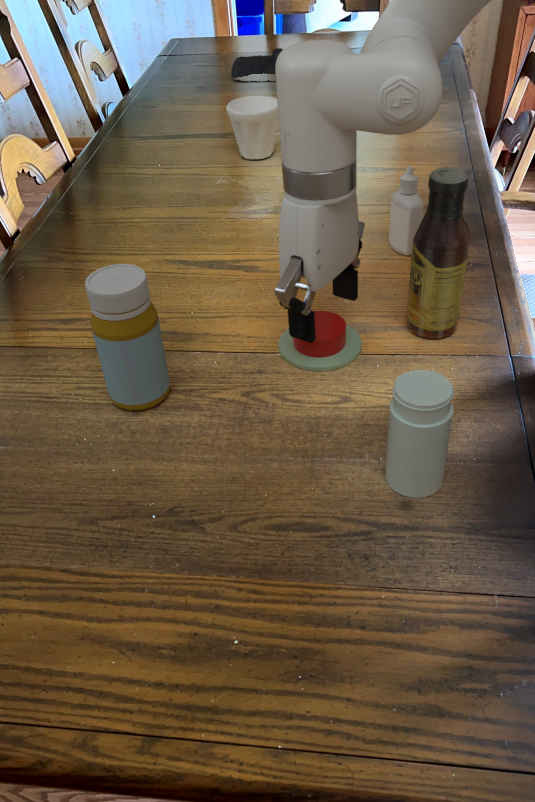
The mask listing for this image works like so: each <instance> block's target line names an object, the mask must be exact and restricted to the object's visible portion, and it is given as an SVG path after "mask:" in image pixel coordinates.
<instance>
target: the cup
mask: <svg viewBox="0 0 535 802" xmlns="http://www.w3.org/2000/svg"><path fill="white" fill-rule="evenodd" d="M225 111H226V114H227V116H228V118H229V120H230V124H231V127H232V130H233V135H234V137H235V140H236V144H237V148H238V151H239V154H240V156H241V157H242V156H243V157H244V158H259V157H264V156H267V155H269V154H270V153H272V152H273V153H274V148H275V143H276V136H277V130H278V125H279V116H278V102H277V97H274V96H268V95H250V96H242V97H238V98H235V99H232V100H231V101H229V102H228V103H227V105H226V107H225ZM244 158H243V159H244Z"/></svg>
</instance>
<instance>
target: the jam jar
mask: <svg viewBox="0 0 535 802" xmlns="http://www.w3.org/2000/svg"><path fill="white" fill-rule="evenodd" d="M454 395H455V390H454V386H453V385H452V383H451V381H450V380H449V378H447V377H446V376H445V375H443V374H441V373H439V372H437V371H434V370H430V369H413V370H409V371H405V372H403V373H401V374H400V375H399V376H397V377H396V378H395V380H394V384H393V387H392V397H391V398H390V401H389V406H388V420H387V421H388V422H387V434H386V435H387V436H386V437H387V439H386V448H385V449H386V452H385V466H384V479H385V482H386V483H387V485H388V487H390V489H391V490H393V491H394V492H396V493H397V494H399V495H401V496H404V497H407V498H411V499H418V498H419V499H420V498H427V497H430V496H432V495H434V494H436V493H437V492H439V490H440V489H442V486H443V484H444V481H445V473H446V466H447V461H448V460H447V459H448V453H449V446H450V438H451V431H452V425H453V419H454V412H455V411H454V410H455V407H454V404H453V402H452V400H453V399H454Z"/></svg>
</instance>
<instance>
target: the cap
mask: <svg viewBox="0 0 535 802" xmlns="http://www.w3.org/2000/svg"><path fill="white" fill-rule="evenodd" d="M313 311H314V312H315V333H316V340H315V341H314V342H313V343H310V342H306V341H303V340H300V339H297V338H294V337H293V345H294V347H295V349H296V350H297V351H298V352H300V353H301V354H303V355H306V356H309V357H316V358H322V357H329V356H332V355H335V354H337V353H339V352H340V351H341V350H342V349H343V348H344V347H345V344H346V325H347V322H346V320H345V318H343V316H341V315H340V314H338V313H335V312H332V311H329V310H313Z"/></svg>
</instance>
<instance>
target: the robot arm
mask: <svg viewBox="0 0 535 802" xmlns="http://www.w3.org/2000/svg"><path fill="white" fill-rule="evenodd" d="M491 1H492V0H390V2H388V4H387V6H386V7H385V9H384V10H383V12H382V13H381V15H380V16H379V18H378V19H377V21H376V22H375V24H374V25H373V26H372V28H371V29H370V31H369V33H368V34H367V37H366V38H365V40H364V42H363V44H362V47H361V49H360V53H355V52H354V51H353V49H352V48H351V47H350V46H349V45H348V44H346V43H345V42H342V41H338V40H332V39H311V40H305V41H300V42H296V43H293V44H291V45H289V46H286V47H285V48H283V49H284V50H283V51H282V52H281V53H280V54H279V56H278V58H277V61H276V66H275V69H276V81H275V85H276V99H277V102H278V116H279V118H278V129H279V141H280V156H281V157H280V158H281V172H282V173H281V174H282V185H283V195H284V197H283V198H282V200H281V204H280V205H281V206H280V212H279V222H278V223H279V225H278V227H279V229H278V265H279V266H278V267H279V278H280V279H279V280H278V282H277V284H276V285H275V289H274V295H275V296H276V299H277V300H278V301H279V305H280V307H282V308H284V310H286V311H287V319H288V320H287V321H288V328H289V334H290V336H291V337H294V338H297V339H300V340H303V341H306V342H310V343H313V342H314V341H315V340H316V333H315V312H314V311H315V310H313V309H312V306H313V304H314V300H315V298H316V295H317V292H319V291H321V290H323V289H325V287H327V286H328V285H329V284H330V283H332V295H333V296H334V297H337V298H341V299H344V300H348V301H351V302H355V301H357V299H358V298H359V270H358V269H359V267H360V264H361V259H360V257H359V255H360V253H361V250H362V248H363V241H362V240H363V239H362V238H363V235H364V232H365V231H364V230H365V227H366V225H365V222H364V221H360V219H359V206H358V196H357V190H358V189H357V185H358V184H357V183H358V182H357V179H358V178H357V175H358V174H357V167H358V166H357V156H358V155H357V153H358V152H357V149H358V148H357V143H358V142H357V140H358V139H357V138H358V137H357V135H358V134H357V132H366V133H372V134H380V135H389V136H401V135H407V134H412V133H414V132H417V131H418V130H421V129H422V128H423V127H425V126H426V125H428V124H429V123H430V122H431V121H432V119H433V118H434V117H435V115H436V114H437V113H438V111H439V108H440V106H441V103H442V100H443V93H444V92H443V88H444V87H443V86H444V85H443V79H442V74H441V70H440V68H439V63H440V62H441V60H442V59H443V58H444V57H445V55H446V54H447V52H449V50H450V49H451V47H452V46H453V44H454V43H455V42H456V41H457V39H458V38H459V37H460V35H461V34H462V33H463V32H464V30H465V29H466V28H467V27H468V25H469V24H470V23H471V22H472V21H473V19H474V18H475V17H476V16H477V15H478V14H479V13H480V12H481V11H482V10H483V9H484V8H485V7H486V6H487V5H488V4H489V3H490V2H491ZM302 278H303V279H305V280H306V282H307V283H304V282H301V279H302ZM299 290H303V291H306V293H305V295H304V299H303V300H301V299H299V298H297V295H298V291H299Z"/></svg>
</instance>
